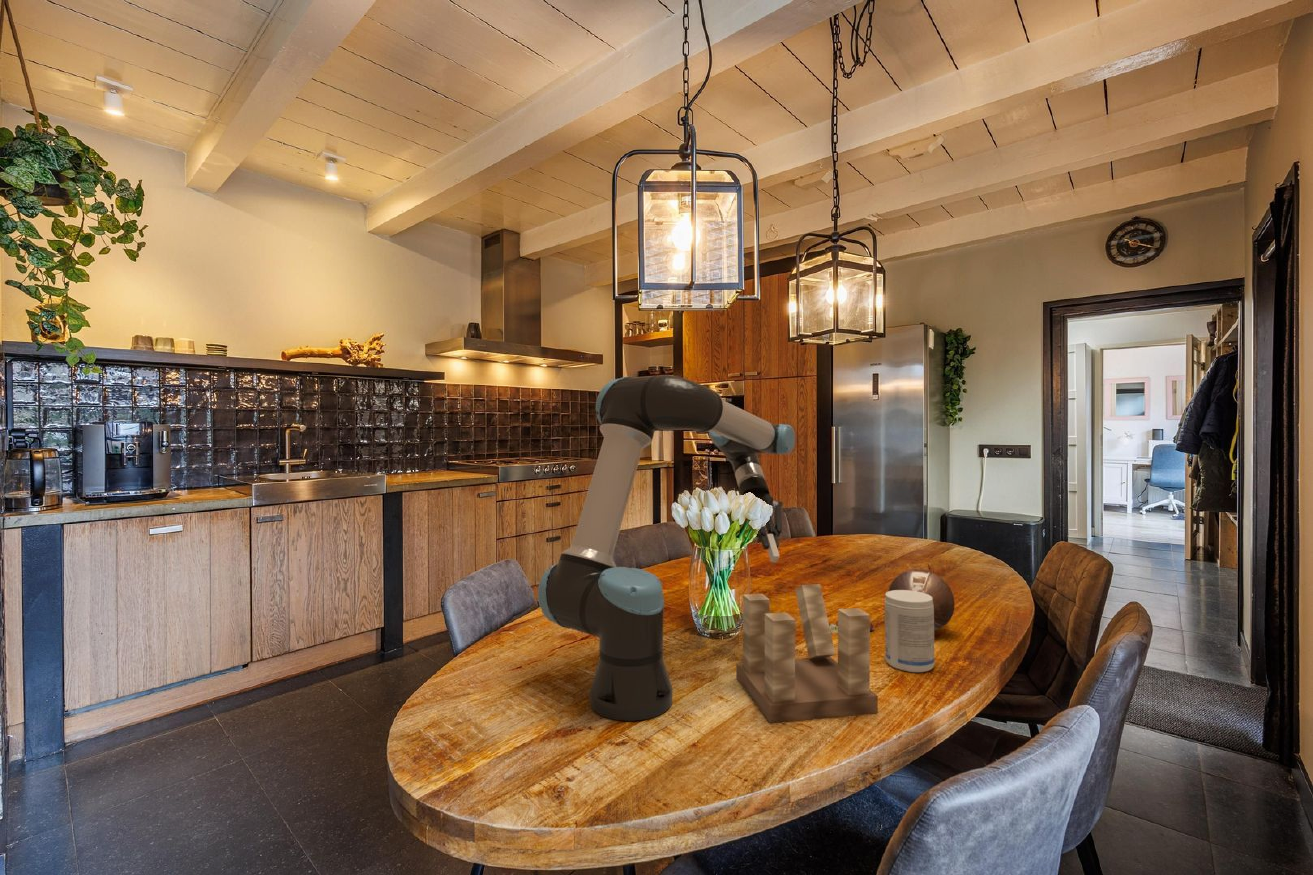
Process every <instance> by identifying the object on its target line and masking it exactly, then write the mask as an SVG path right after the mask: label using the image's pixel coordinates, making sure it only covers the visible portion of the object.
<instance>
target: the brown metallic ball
mask: <svg viewBox="0 0 1313 875" xmlns="http://www.w3.org/2000/svg"><path fill="white" fill-rule="evenodd" d="M893 590H910V591H917V592H922V593H925V594H928V595H930V596H931V597H932V598H933V606H934V632H937V631H939V630H942V629H943V628H944V627H946V626H947V624H948V623H949V622H950V621H951V619H952V617H953V615H954V611H955V605H956V604H955V598H954V594H953V592H952V590H951V587H950V586H949V585H948V583H947V582H946V581H945V580H944V579H943V578H942V577H940V576H939V575H938V574H936V573H934V572H931V571H928V570H925V569H920V568H919V569H910V570H906V571H904V572H902V573H900V574H899V575H897V576H896V577H895V578H894V579H893V580H892V582H891V583H890V585H889V588H888V591H887V592H889V591H893Z"/></svg>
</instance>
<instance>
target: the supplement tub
mask: <svg viewBox="0 0 1313 875" xmlns="http://www.w3.org/2000/svg"><path fill="white" fill-rule="evenodd" d="M884 597H885V598H884V644H885V646H884V648H885V651H884V652H885V654H884V655H885V656H884V657H885V662H887V664H888V665H890V666H891V667H893V668H895V669H897V670H900V671H906V672H908V673H909V672H910V673H924V672H925V673H926V672H928V671H931V670H933V668H934V667H935V631H934V606H933V598H932V597H931V596H930V595H928V594H925V593H922V592H917V591H910V590H893V591H889V592H888V591H886V593H885V595H884Z"/></svg>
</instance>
